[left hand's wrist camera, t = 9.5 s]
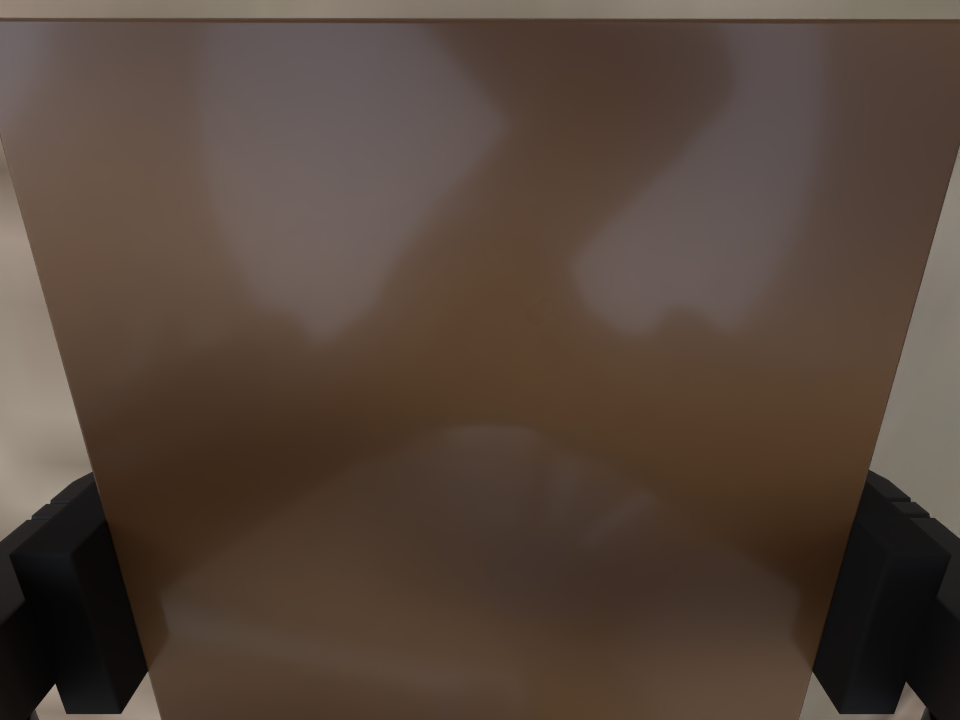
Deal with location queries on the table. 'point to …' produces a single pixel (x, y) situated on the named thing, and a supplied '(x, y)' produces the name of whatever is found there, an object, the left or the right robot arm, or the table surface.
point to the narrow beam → (480, 343)
